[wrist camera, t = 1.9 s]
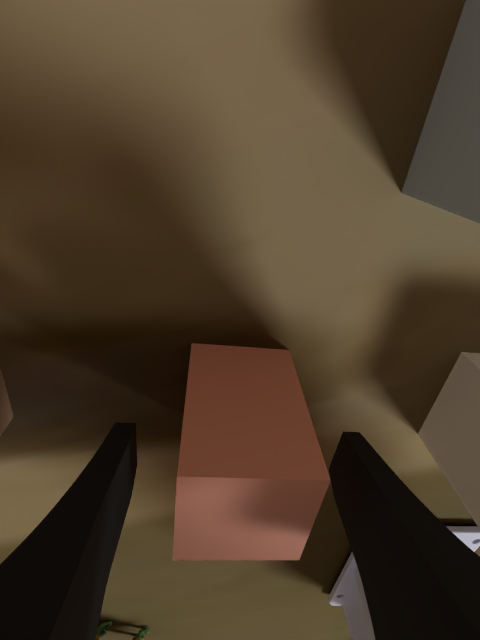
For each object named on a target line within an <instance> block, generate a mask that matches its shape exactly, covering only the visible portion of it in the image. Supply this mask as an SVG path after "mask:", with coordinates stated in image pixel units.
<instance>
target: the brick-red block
mask: <svg viewBox="0 0 480 640" xmlns="http://www.w3.org/2000/svg"><path fill="white" fill-rule="evenodd" d="M330 481H331V480H330V477H329V473H328V470H327V467H326V464H325V461H324V458H323V455H322V451H321V448H320V445H319V442H318V439H317V436H316V433H315V429H314V426H313V423H312V420H311V417H310V414H309V411H308V407H307V404H306V401H305V398H304V395H303V392H302V389H301V385H300V382H299V379H298V376H297V373H296V370H295V367H294V363H293V360H292V357H291V354H290V351H289V350H284V349H269V348H255V347H240V346H226V345H211V344H197V343H192V344H191V353H190V362H189V371H188V380H187V389H186V398H185V407H184V416H183V426H182V435H181V444H180V453H179V462H178V471H177V483H176V502H175V521H174V540H173V559H172V560H299V559H300V557H301V554H302V552H303V549H304V547H305V544H306V542H307V539H308V537H309V534H310V532H311V529H312V527H313V524H314V522H315V519H316V516H317V514H318V511H319V509H320V506H321V504H322V501H323V499H324V496H325V494H326V491H327V489H328V486H329V484H330Z"/></svg>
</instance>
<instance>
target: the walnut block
mask: <svg viewBox="0 0 480 640" xmlns="http://www.w3.org/2000/svg"><path fill="white" fill-rule="evenodd" d="M13 417H14V416H13V412H12V408H11V405H10V401H9V397H8V394H7V390H6V386H5V382H4V379H3V375H2V371H1V368H0V436H1V435H2V433H3V432H4V430H5V429H6V427H7V426H8V424H9V423H10V421H11V420H12V418H13Z"/></svg>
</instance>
